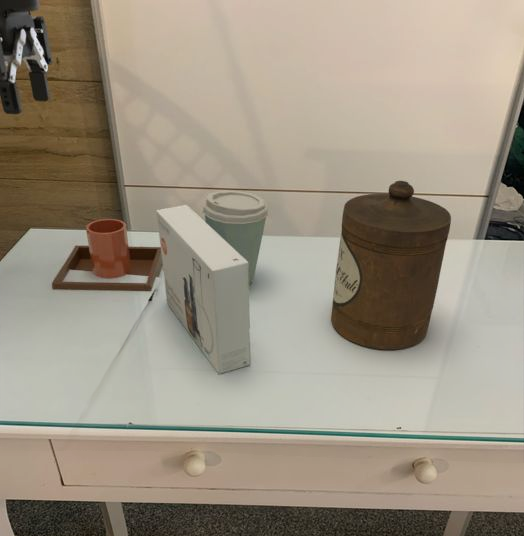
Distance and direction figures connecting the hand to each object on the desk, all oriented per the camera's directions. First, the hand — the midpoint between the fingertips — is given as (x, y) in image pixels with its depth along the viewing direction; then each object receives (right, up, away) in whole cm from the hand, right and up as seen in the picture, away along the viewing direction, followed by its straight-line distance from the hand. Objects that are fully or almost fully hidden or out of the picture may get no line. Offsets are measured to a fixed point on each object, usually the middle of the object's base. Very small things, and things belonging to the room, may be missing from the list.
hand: (28, 106), depth 77 cm
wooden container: (+50, -30, +9) cm, 59 cm away
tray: (+7, -21, +19) cm, 29 cm away
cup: (+7, -21, +18) cm, 29 cm away
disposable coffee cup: (+28, -22, +19) cm, 40 cm away
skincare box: (+24, -31, +6) cm, 40 cm away
